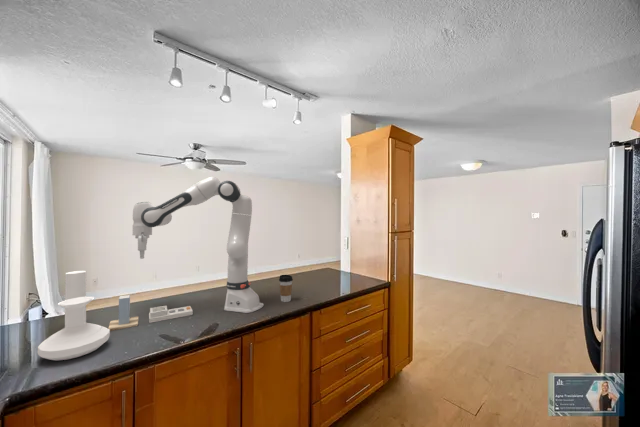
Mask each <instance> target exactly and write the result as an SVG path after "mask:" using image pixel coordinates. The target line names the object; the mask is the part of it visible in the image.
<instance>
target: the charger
mask: <svg viewBox="0 0 640 427" xmlns="http://www.w3.org/2000/svg"><path fill="white" fill-rule="evenodd" d="M130 312H131V294H128V295H127V294H126V295H120V296H119V297H118V320H119V325H122V324H127V323H129V321H130V318H131V317H130V316H131V313H130Z"/></svg>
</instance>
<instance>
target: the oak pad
mask: <svg viewBox="0 0 640 427" xmlns="http://www.w3.org/2000/svg"><path fill="white" fill-rule="evenodd" d="M108 325H109V326H108V329H110V332H113V331H118V330H123V329H129V328H134V327H138V326H139V315H138V316H132V317H130V321H129V323H127V324H122V325H119V319H114V320H110V322H109V324H108Z"/></svg>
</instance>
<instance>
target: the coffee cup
mask: <svg viewBox="0 0 640 427" xmlns="http://www.w3.org/2000/svg"><path fill="white" fill-rule="evenodd" d="M293 280H294V279H293V276H292V275H290V274H281V275H279V279H278V281H279V293H280V301H281V302H282V303H288V302H291V299H292V290H293Z"/></svg>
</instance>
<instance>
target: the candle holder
mask: <svg viewBox="0 0 640 427" xmlns="http://www.w3.org/2000/svg"><path fill="white" fill-rule="evenodd" d="M94 299H95V296H86V297H78V298H72V299H68V300H65V299H64V300H62V301H60V302H58V303H57V305H58V306H60V307H63V308H64V309H65V308H67V316H66V327H65V326H64V327H63V328H62V329H60V330H58V331H57V332H55V333H53V334H52V335H50V336H48V337H47V338H46V339H45V340H43V341H42V342H41V343H40V344H39V345H38V346H37V355H38V356H39V357H40V358H43V359H46V360H51V361H57V362H58V361H63V360H64V361H66V360H71V359H75V358H79V357H82V356H84V355H88V354H90V353H92V352H94V351H96V350H98V349H99V348H100V347H101V346H102V345H104V343H106V342H107V341H109V339H110V336H111V331H110V329H108V328H107V327H106V326H103V325H101V324H95V323H92V322H91V323H90V322H87V305H88V304H90V303H91V302H92V301H93V300H94Z"/></svg>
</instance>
